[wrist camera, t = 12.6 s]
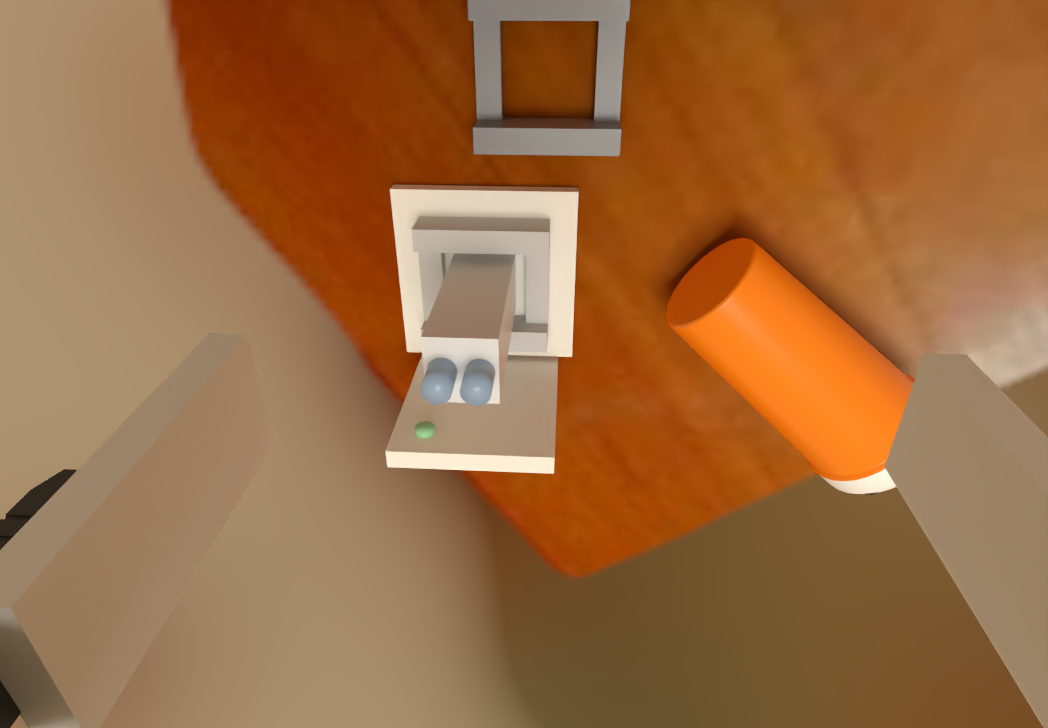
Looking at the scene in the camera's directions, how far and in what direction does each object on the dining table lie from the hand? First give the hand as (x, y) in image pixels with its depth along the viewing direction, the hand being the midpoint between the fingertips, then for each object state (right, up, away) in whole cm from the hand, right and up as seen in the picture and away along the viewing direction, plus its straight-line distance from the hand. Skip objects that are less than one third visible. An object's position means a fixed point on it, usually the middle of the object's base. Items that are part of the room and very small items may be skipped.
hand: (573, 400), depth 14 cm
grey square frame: (0, +18, +26) cm, 32 cm away
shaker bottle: (+10, +6, +28) cm, 30 cm away
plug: (-4, +6, +32) cm, 33 cm away
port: (-4, +7, +33) cm, 34 cm away
